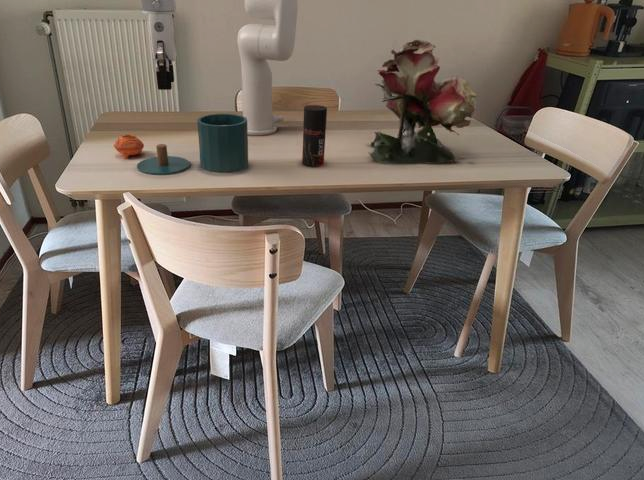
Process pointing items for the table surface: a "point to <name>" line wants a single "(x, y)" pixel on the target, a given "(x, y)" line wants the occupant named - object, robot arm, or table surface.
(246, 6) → the robot arm
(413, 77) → the rose bouquet
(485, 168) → the table surface
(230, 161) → the tin
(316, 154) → the deodorant
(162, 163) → the lid
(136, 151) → the pot
